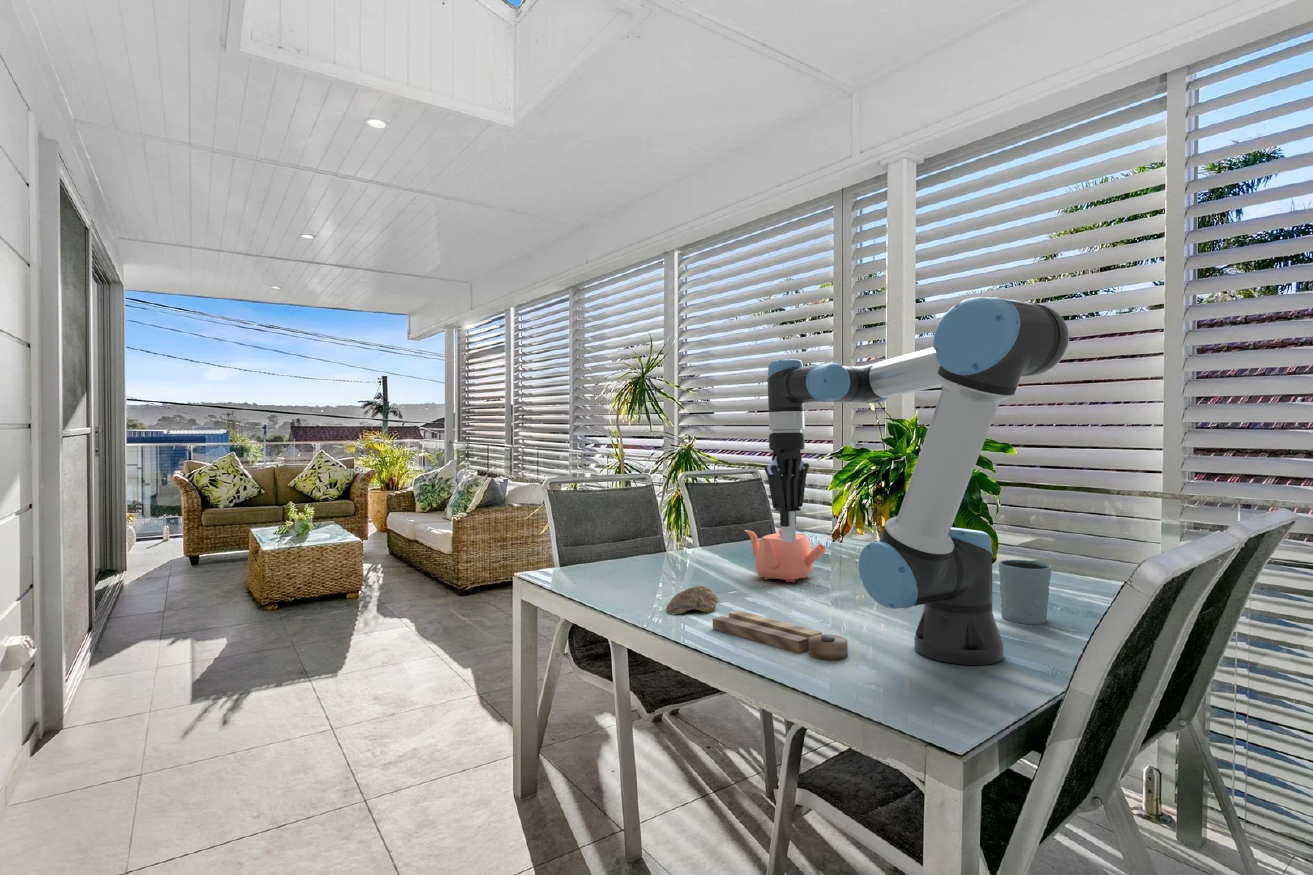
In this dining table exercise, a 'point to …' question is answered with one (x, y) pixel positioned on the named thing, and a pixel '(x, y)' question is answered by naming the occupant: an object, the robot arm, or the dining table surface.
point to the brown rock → (693, 600)
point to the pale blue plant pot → (1024, 591)
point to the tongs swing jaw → (773, 624)
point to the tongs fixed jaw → (786, 639)
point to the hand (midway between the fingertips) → (788, 541)
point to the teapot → (784, 556)
